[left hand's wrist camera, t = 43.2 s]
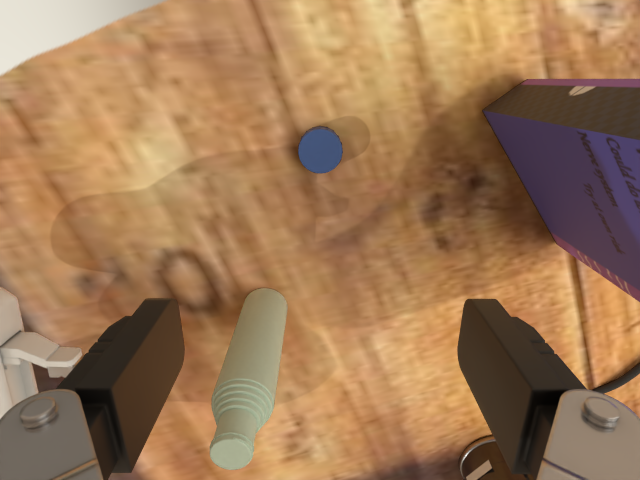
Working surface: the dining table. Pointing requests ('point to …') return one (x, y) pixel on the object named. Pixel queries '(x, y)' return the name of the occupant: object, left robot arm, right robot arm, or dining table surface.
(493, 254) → the dining table surface
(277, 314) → the bottle
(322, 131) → the cap
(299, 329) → the dining table surface
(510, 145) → the cereal box
